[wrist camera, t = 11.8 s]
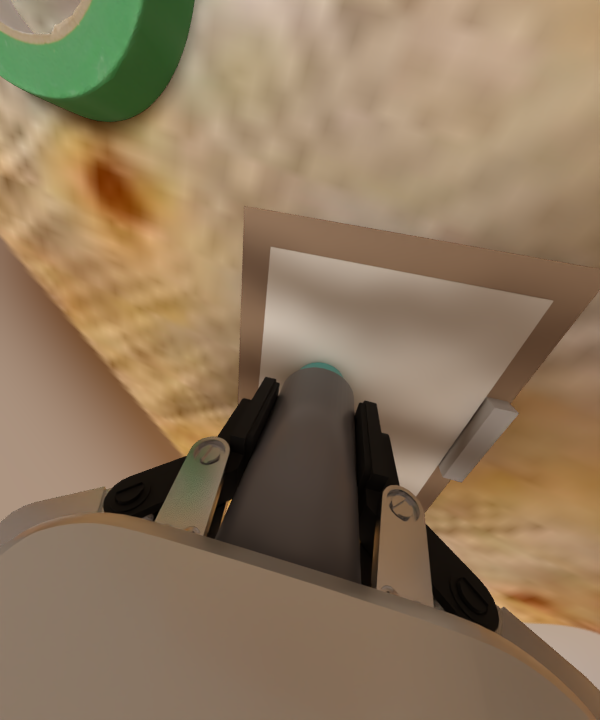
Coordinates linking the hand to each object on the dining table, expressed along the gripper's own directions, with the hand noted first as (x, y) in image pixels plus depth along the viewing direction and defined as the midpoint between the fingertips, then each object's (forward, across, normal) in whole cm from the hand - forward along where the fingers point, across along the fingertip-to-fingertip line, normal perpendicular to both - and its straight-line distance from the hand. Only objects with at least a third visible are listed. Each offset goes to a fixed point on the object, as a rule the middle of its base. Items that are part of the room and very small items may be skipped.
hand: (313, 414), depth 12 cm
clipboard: (+4, -3, +2) cm, 5 cm away
